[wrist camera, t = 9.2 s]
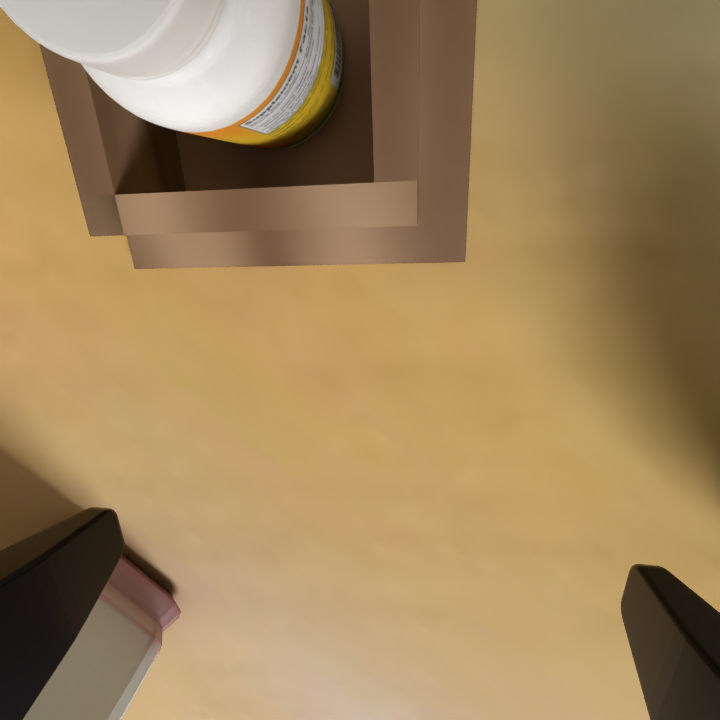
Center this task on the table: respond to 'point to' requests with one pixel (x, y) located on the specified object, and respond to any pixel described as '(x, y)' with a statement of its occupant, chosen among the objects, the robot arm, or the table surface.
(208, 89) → the supplement bottle
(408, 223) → the u rest
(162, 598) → the bottle
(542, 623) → the table surface
